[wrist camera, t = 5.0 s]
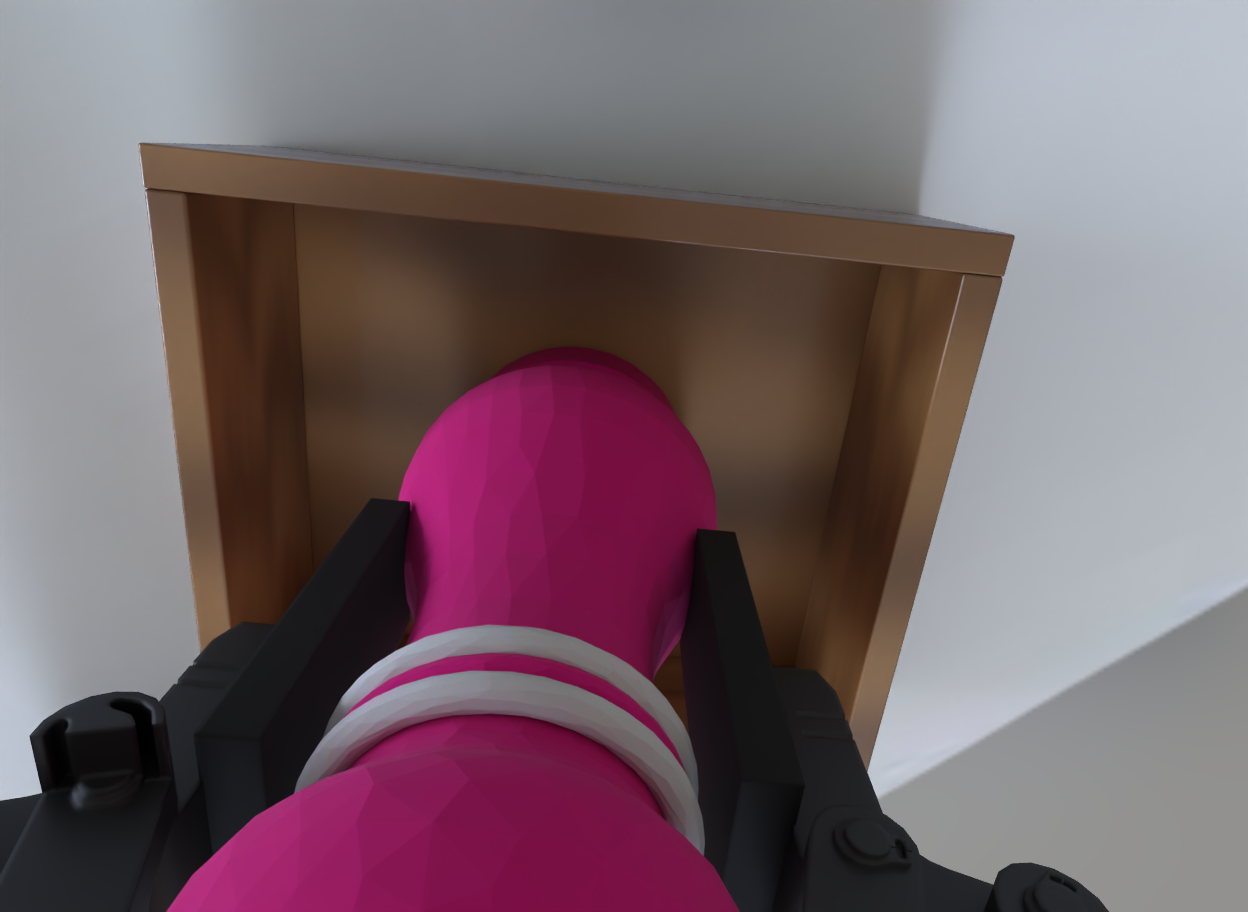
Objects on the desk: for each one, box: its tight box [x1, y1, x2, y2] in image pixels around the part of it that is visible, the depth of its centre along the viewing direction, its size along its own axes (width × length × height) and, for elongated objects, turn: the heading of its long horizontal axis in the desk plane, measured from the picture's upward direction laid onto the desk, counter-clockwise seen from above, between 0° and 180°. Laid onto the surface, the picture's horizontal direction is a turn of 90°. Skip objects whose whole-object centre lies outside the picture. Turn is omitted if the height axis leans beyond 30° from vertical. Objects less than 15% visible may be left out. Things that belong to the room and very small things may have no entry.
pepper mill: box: [166, 347, 740, 912], centre depth 12 cm, size 7×7×20 cm
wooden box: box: [138, 143, 1015, 771], centre depth 20 cm, size 15×17×5 cm
